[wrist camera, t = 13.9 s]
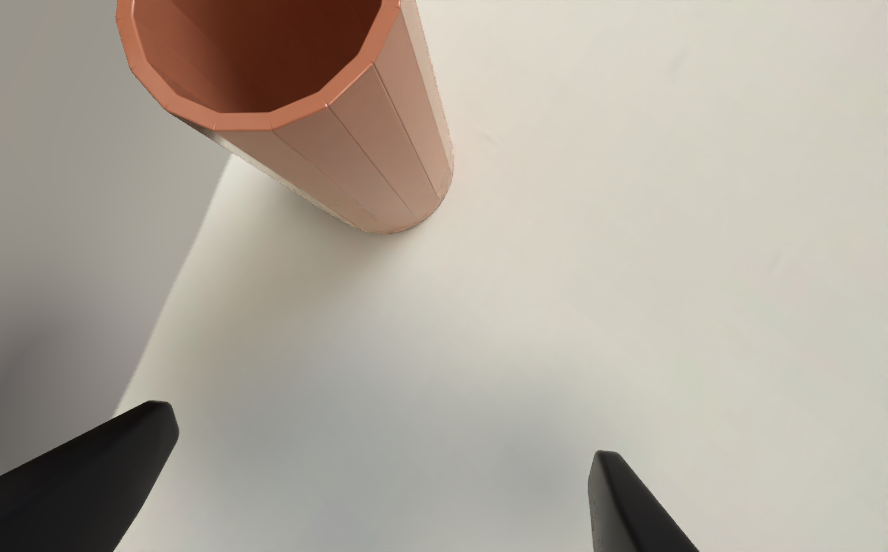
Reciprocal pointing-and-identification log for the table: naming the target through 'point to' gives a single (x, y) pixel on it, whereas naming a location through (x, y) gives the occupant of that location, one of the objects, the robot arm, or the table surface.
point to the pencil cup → (305, 96)
